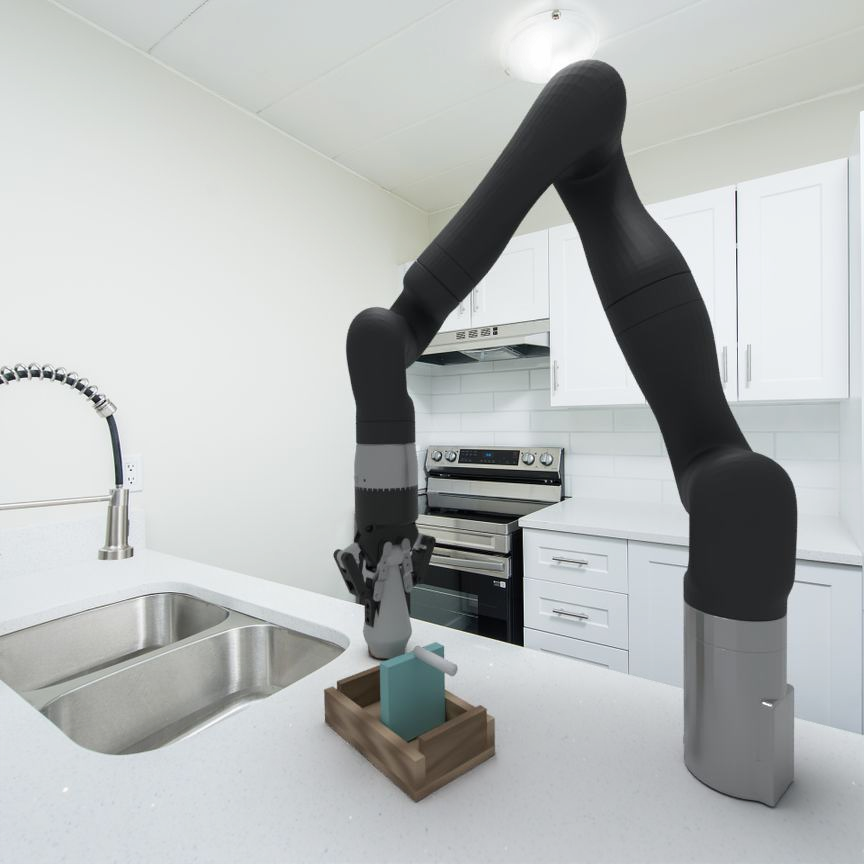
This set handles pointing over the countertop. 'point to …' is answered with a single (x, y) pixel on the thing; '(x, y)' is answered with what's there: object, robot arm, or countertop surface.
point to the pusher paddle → (414, 690)
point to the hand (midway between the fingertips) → (388, 624)
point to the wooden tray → (419, 757)
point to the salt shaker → (390, 614)
